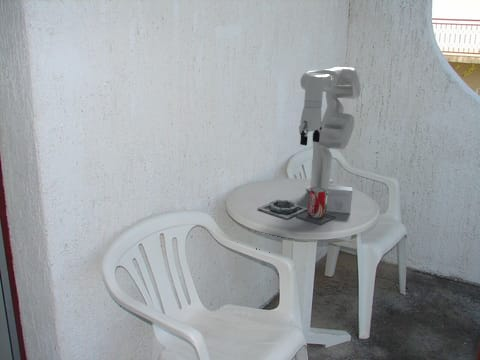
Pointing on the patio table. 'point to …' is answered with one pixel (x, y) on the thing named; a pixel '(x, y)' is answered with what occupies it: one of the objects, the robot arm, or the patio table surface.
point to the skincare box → (339, 199)
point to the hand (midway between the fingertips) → (309, 143)
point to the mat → (316, 220)
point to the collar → (283, 209)
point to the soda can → (316, 202)
